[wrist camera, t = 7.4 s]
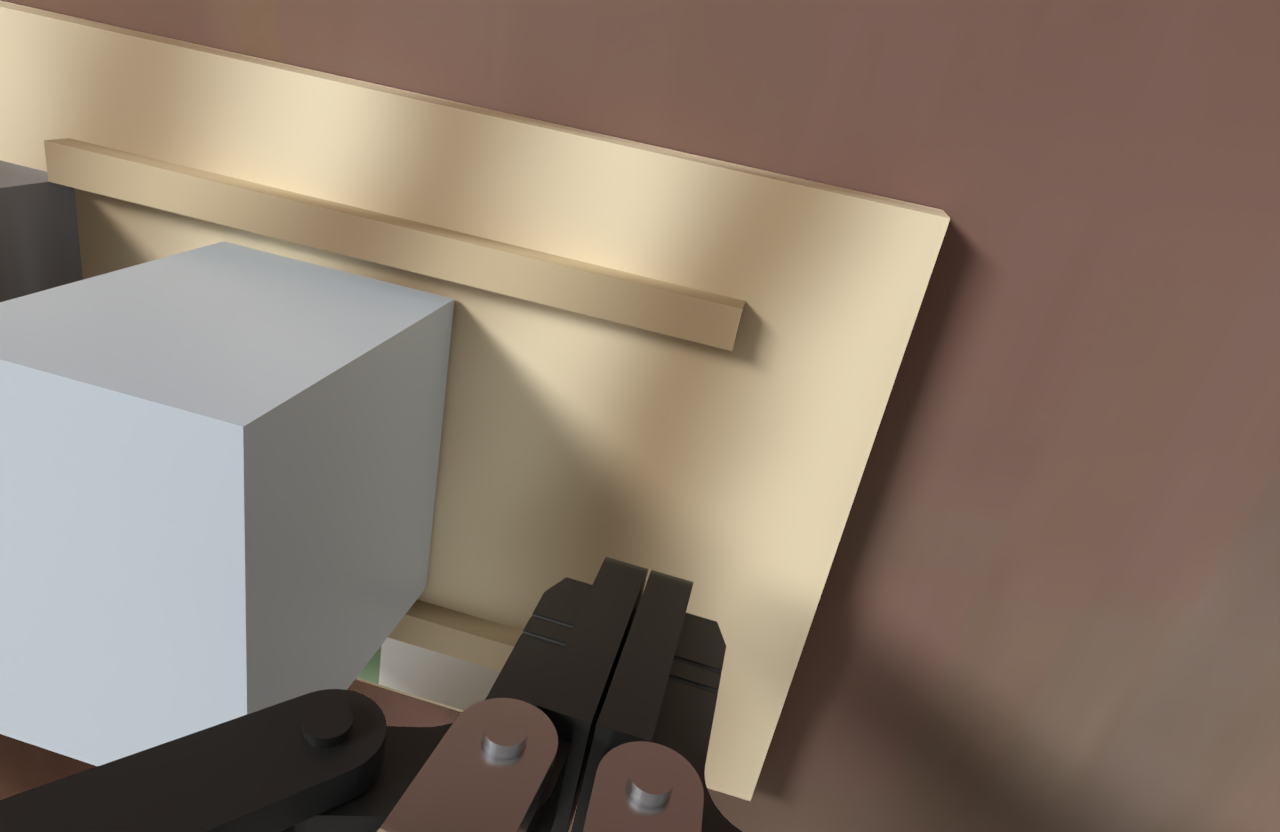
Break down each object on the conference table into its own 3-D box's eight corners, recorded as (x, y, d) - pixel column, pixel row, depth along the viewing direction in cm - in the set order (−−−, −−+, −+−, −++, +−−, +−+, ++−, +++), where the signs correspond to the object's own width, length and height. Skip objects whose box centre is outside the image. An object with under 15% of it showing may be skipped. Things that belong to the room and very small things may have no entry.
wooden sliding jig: (942, 209, 15) (1059, 337, 7) (753, 769, 20) (716, 1147, 13) (-30, -7, 17) (-668, -69, 10) (45, 553, 23) (-320, 777, 15)
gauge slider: (454, 298, 16) (243, 427, 10) (414, 701, 20) (250, 953, 15) (135, 219, 17) (-233, 294, 11) (162, 622, 21) (-93, 833, 15)
